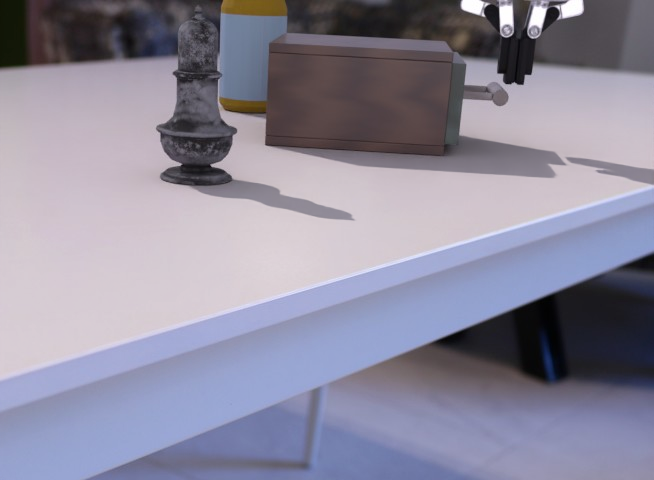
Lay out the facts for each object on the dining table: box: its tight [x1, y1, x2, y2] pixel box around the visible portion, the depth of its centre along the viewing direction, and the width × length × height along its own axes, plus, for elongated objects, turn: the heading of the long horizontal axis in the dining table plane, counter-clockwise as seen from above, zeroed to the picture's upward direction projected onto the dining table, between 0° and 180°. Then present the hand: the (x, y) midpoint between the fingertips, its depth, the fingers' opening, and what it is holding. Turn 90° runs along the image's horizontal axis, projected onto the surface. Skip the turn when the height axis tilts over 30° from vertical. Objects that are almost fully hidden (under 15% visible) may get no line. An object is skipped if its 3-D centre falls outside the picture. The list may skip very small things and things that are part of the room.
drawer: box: [445, 51, 510, 146], centre depth 97 cm, size 19×13×7 cm
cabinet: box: [264, 32, 454, 157], centre depth 97 cm, size 16×15×9 cm
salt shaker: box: [155, 4, 238, 186], centre depth 75 cm, size 6×6×12 cm
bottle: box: [218, 0, 288, 114], centre depth 112 cm, size 7×7×15 cm
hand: (513, 82), depth 95 cm, fingers closed
